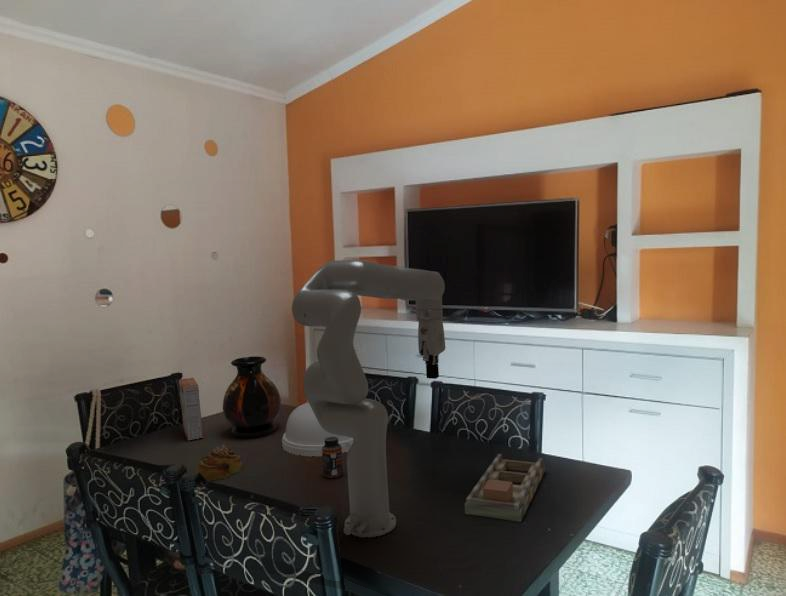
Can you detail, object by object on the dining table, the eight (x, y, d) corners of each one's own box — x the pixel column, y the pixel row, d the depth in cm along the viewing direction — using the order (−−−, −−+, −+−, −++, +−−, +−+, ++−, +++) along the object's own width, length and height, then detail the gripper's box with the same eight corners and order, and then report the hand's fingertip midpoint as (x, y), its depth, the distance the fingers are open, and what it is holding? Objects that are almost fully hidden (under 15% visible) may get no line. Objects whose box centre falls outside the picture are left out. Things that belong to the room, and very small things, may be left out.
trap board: (520, 521, 141) (520, 505, 141) (465, 513, 147) (464, 498, 147) (544, 471, 170) (544, 458, 170) (497, 466, 176) (496, 453, 176)
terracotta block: (507, 507, 144) (506, 491, 144) (483, 504, 146) (483, 488, 146) (513, 497, 149) (512, 481, 149) (489, 494, 152) (489, 479, 151)
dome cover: (266, 441, 212) (263, 403, 211) (336, 422, 230) (334, 387, 229) (310, 465, 187) (307, 422, 185) (385, 441, 205) (383, 402, 203)
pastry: (250, 465, 189) (248, 441, 189) (221, 484, 175) (219, 458, 175) (216, 462, 194) (214, 438, 193) (185, 480, 180) (183, 454, 179)
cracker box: (182, 432, 228) (178, 379, 226) (199, 429, 231) (194, 376, 229) (186, 442, 215) (181, 386, 214) (203, 439, 218) (198, 383, 216)
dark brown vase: (224, 428, 230) (218, 357, 228) (279, 420, 237) (274, 351, 234) (225, 445, 210) (219, 368, 207) (286, 435, 216) (280, 361, 214)
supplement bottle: (340, 479, 173) (337, 442, 172) (320, 478, 175) (318, 441, 173) (345, 471, 179) (343, 435, 178) (327, 471, 180) (324, 435, 179)
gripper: (432, 318, 160) (435, 384, 161) (450, 311, 173) (453, 372, 175) (407, 318, 163) (410, 383, 165) (426, 311, 176) (429, 371, 178)
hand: (432, 377), depth 170 cm, fingers closed
